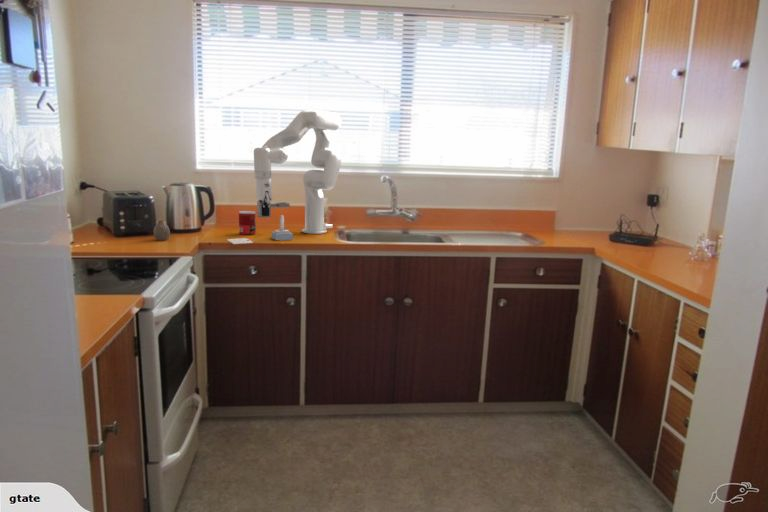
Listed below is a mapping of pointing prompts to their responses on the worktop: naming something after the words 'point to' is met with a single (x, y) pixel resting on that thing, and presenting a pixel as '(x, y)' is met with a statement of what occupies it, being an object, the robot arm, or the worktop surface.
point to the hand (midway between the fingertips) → (264, 214)
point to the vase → (161, 231)
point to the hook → (260, 205)
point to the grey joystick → (282, 232)
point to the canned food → (247, 223)
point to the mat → (239, 241)
